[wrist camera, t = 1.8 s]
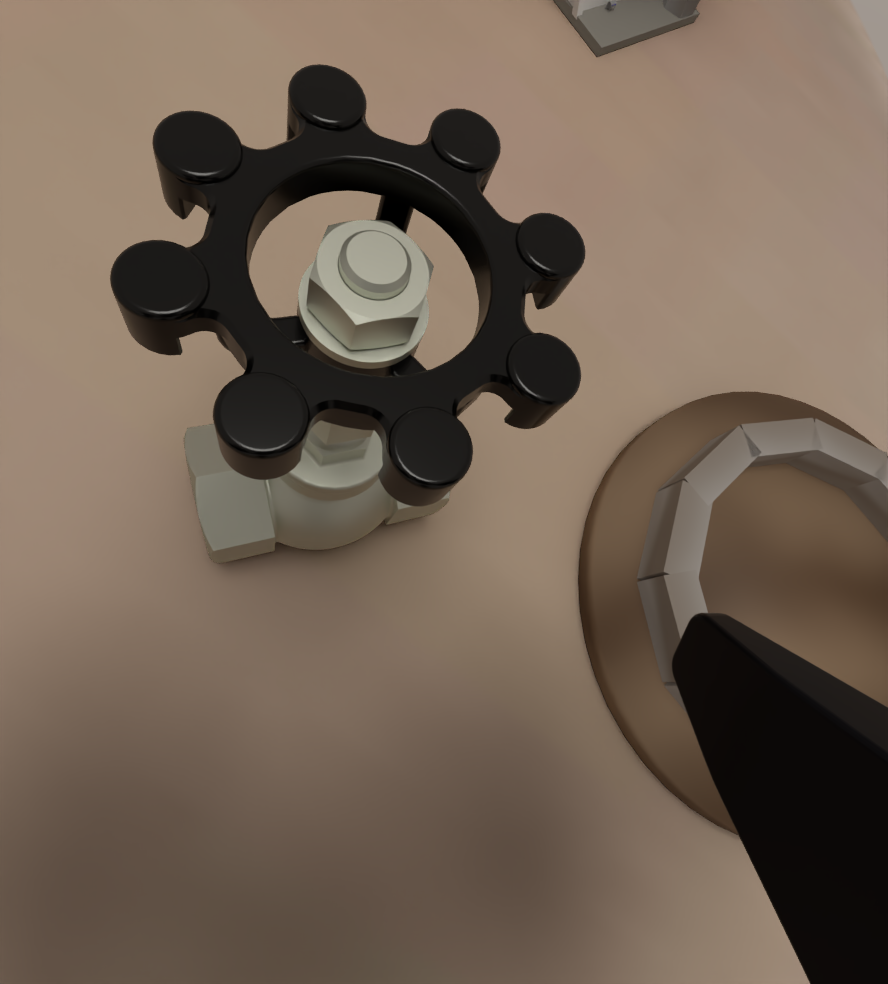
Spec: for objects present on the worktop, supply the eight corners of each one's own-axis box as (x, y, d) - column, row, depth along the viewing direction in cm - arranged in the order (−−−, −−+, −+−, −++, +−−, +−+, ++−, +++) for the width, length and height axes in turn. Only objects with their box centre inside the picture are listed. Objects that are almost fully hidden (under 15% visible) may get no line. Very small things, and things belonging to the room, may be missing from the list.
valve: (184, 415, 19) (66, 56, 8) (388, 383, 21) (520, 64, 10) (228, 626, 18) (161, 548, 7) (442, 570, 20) (660, 439, 9)
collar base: (1009, 781, 23) (1090, 793, 21) (647, 912, 19) (701, 946, 16) (866, 390, 27) (922, 364, 25) (534, 416, 22) (564, 387, 20)
